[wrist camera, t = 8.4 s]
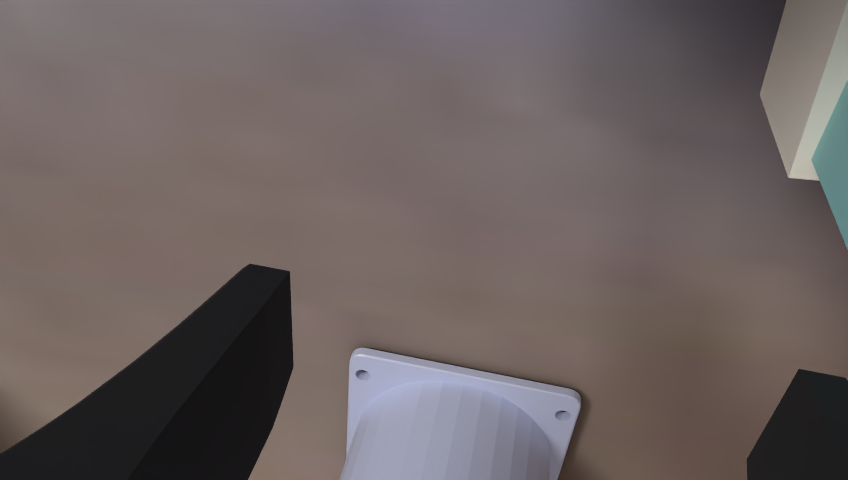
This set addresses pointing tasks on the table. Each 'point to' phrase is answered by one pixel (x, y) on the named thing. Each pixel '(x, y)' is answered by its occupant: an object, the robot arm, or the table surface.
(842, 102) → the teal cube
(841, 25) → the cream block
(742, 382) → the table surface
